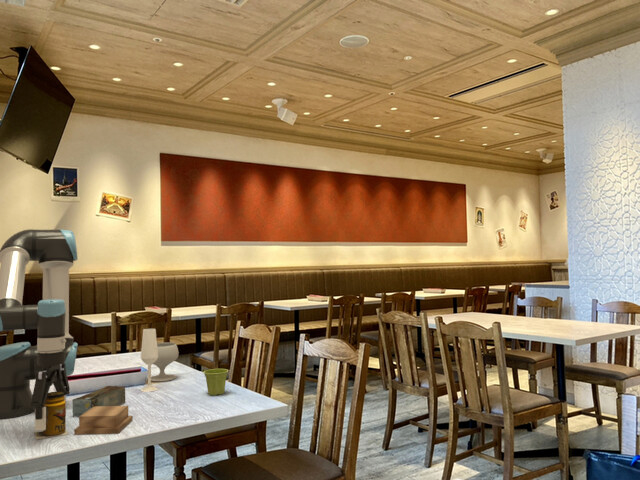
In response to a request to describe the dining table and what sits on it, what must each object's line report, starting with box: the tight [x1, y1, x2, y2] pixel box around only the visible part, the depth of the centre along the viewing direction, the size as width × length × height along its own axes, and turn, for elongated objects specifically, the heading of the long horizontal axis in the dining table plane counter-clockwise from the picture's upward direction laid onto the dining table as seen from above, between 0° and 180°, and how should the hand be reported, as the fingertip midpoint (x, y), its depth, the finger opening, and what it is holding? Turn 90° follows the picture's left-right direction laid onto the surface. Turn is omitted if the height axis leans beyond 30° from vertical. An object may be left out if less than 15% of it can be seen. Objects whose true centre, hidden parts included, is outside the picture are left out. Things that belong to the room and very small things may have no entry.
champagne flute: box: [140, 328, 159, 393], centre depth 213 cm, size 7×7×24 cm
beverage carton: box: [71, 385, 126, 418], centre depth 185 cm, size 8×19×7 cm, turn 165°
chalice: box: [151, 342, 180, 382], centre depth 232 cm, size 14×14×15 cm
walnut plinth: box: [73, 405, 134, 436], centre depth 165 cm, size 13×13×5 cm
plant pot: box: [203, 368, 229, 396], centre depth 204 cm, size 9×9×9 cm
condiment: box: [33, 391, 69, 440], centre depth 159 cm, size 7×8×12 cm
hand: (51, 423), depth 159 cm, fingers open, 12 cm apart
